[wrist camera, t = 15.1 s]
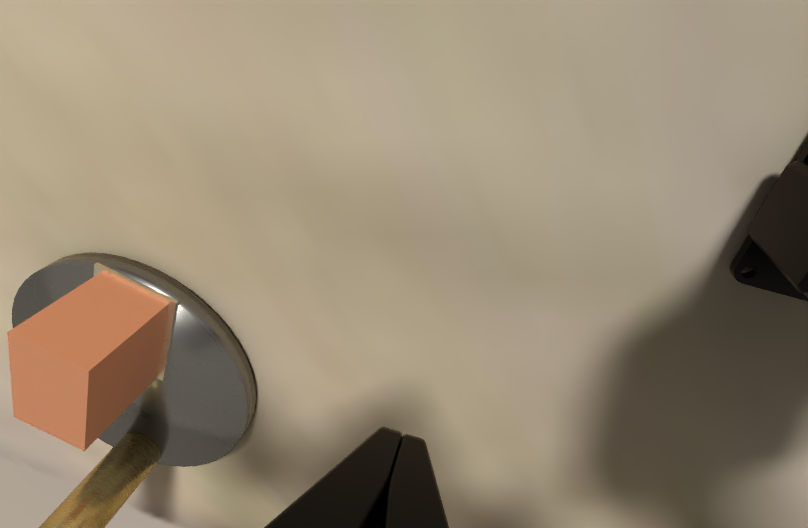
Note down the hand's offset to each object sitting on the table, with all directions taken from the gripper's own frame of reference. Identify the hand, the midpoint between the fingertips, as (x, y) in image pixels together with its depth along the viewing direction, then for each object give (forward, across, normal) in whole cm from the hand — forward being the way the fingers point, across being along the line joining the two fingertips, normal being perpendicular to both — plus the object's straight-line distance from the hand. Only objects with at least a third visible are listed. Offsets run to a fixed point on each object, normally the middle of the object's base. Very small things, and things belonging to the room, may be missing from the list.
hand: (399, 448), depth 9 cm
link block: (+11, -15, -11) cm, 22 cm away
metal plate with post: (+13, -16, -15) cm, 25 cm away
